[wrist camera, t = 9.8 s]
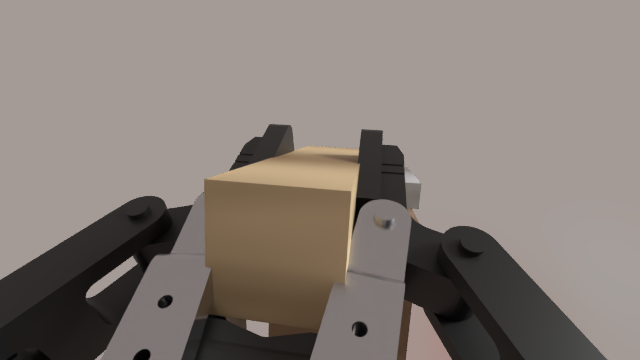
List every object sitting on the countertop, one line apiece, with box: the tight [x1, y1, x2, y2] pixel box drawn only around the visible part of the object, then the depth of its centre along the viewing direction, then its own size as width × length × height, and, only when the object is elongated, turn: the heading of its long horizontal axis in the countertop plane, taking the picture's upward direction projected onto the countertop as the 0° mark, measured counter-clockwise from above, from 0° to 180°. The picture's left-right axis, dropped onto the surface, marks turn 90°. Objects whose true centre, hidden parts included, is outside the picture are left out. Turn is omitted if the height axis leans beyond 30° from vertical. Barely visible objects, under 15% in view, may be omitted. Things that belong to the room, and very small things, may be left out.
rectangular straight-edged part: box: [204, 146, 421, 330], centre depth 17 cm, size 22×8×3 cm, turn 171°
